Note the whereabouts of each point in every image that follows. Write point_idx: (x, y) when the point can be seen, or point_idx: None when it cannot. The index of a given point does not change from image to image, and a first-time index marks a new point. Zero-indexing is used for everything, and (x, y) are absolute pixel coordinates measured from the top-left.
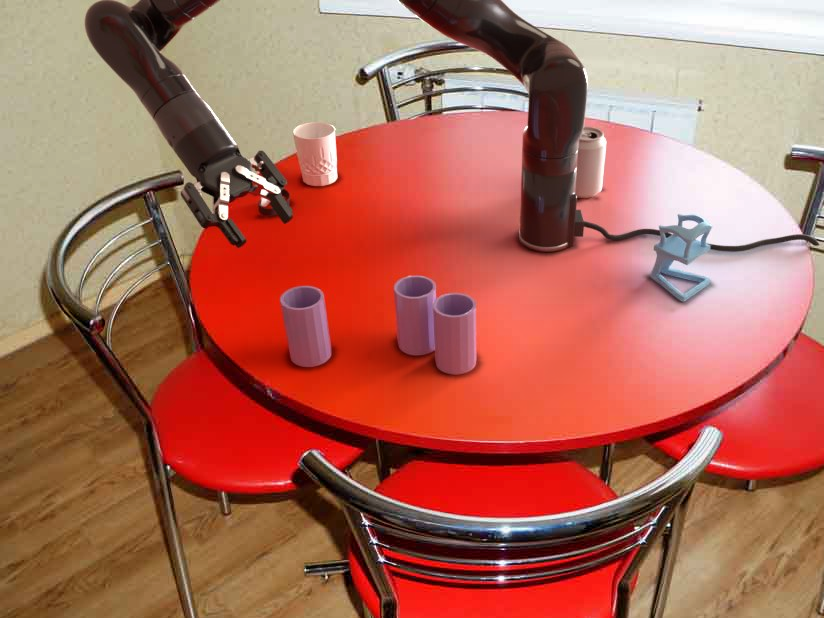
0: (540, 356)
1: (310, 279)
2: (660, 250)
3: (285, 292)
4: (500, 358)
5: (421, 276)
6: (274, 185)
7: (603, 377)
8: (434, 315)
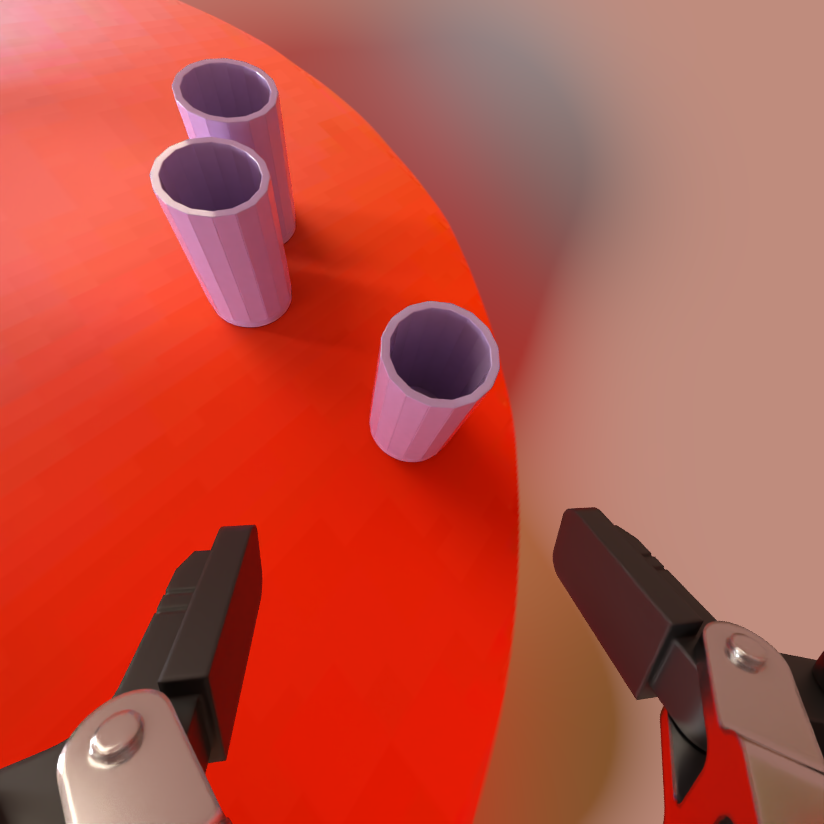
0: (164, 139)
1: None
2: None
3: (458, 402)
4: None
5: (155, 183)
6: (72, 808)
7: (163, 67)
8: (272, 126)
